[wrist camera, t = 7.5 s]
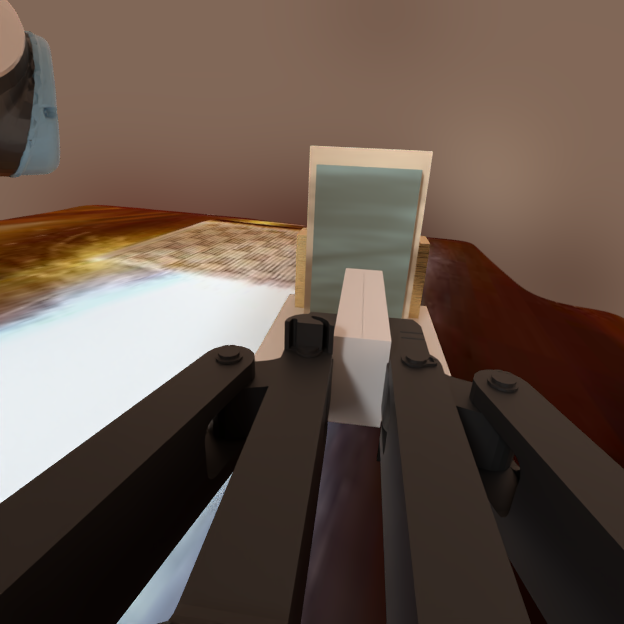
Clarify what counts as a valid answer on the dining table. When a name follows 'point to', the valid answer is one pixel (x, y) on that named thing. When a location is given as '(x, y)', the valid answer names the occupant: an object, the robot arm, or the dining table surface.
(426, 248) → the contact block
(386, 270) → the wooden tall block
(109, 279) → the dining table surface
